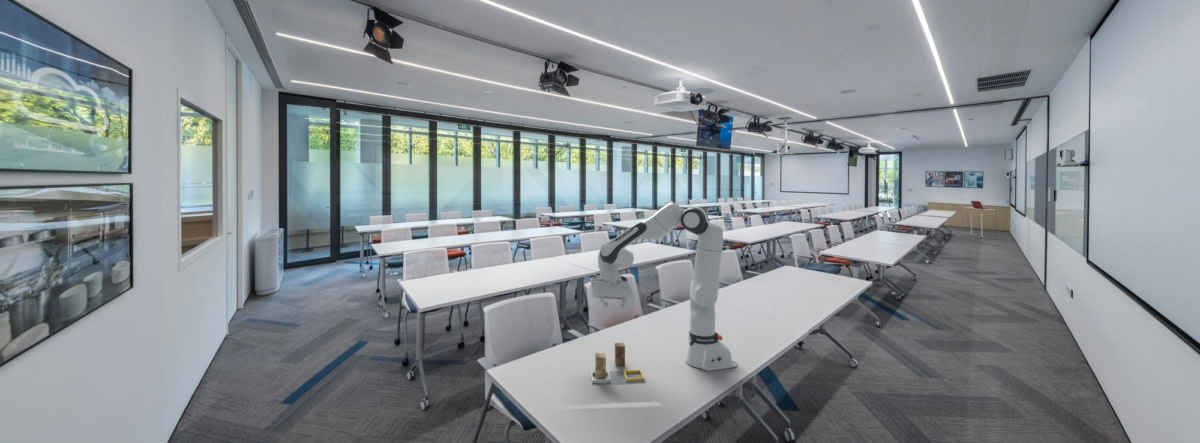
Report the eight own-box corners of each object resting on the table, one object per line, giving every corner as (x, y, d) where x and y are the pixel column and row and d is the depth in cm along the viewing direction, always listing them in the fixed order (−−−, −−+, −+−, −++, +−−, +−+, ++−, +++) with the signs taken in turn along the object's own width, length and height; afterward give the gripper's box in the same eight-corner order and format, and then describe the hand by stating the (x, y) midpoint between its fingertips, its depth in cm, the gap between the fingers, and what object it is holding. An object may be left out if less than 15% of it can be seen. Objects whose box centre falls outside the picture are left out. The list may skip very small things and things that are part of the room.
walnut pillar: (623, 364, 196) (623, 342, 195) (624, 367, 192) (625, 346, 191) (614, 364, 195) (614, 343, 194) (615, 368, 191) (616, 346, 190)
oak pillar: (604, 375, 182) (604, 352, 181) (605, 380, 178) (605, 356, 177) (595, 376, 181) (595, 353, 180) (596, 380, 177) (596, 357, 176)
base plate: (640, 372, 187) (640, 367, 187) (646, 385, 175) (646, 380, 175) (589, 374, 185) (589, 369, 185) (592, 388, 173) (592, 382, 173)
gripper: (593, 275, 200) (597, 303, 192) (631, 278, 209) (636, 305, 201) (587, 281, 204) (591, 308, 197) (624, 284, 213) (629, 310, 206)
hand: (614, 307), depth 199 cm, fingers open, 8 cm apart
